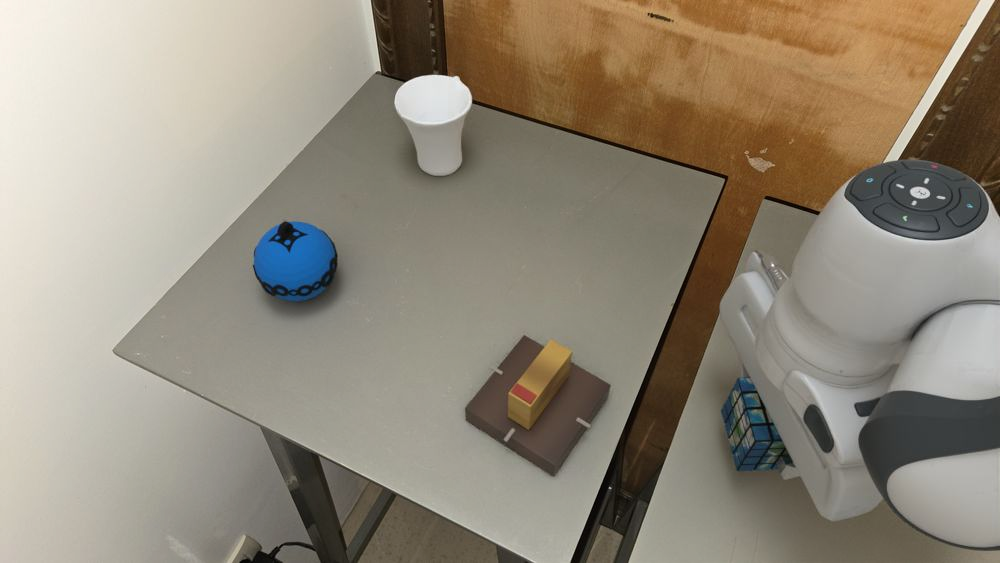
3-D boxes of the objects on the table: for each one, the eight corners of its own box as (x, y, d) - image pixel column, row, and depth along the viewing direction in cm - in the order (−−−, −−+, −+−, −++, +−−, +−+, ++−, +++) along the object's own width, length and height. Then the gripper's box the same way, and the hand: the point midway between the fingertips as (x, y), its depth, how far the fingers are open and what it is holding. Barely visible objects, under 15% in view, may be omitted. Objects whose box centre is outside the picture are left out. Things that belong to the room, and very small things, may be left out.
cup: (490, 155, 95) (489, 91, 87) (440, 197, 90) (434, 133, 82) (437, 125, 98) (432, 60, 90) (387, 163, 94) (377, 99, 86)
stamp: (548, 363, 73) (551, 336, 70) (569, 376, 72) (573, 349, 69) (507, 416, 70) (507, 391, 66) (528, 430, 69) (530, 405, 65)
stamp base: (616, 396, 74) (620, 382, 72) (555, 485, 68) (557, 474, 66) (521, 341, 78) (522, 326, 76) (456, 421, 72) (455, 408, 70)
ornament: (309, 330, 79) (288, 271, 71) (247, 295, 81) (220, 235, 73) (360, 275, 83) (345, 213, 75) (299, 243, 86) (279, 181, 78)
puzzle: (735, 471, 65) (754, 441, 61) (720, 409, 69) (736, 376, 64) (803, 468, 66) (828, 438, 61) (784, 407, 69) (806, 373, 64)
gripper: (723, 245, 60) (687, 339, 71) (854, 483, 48) (787, 552, 59) (795, 231, 61) (749, 326, 72) (941, 461, 49) (859, 533, 60)
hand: (767, 429), depth 66 cm, fingers closed on puzzle, 6 cm apart
